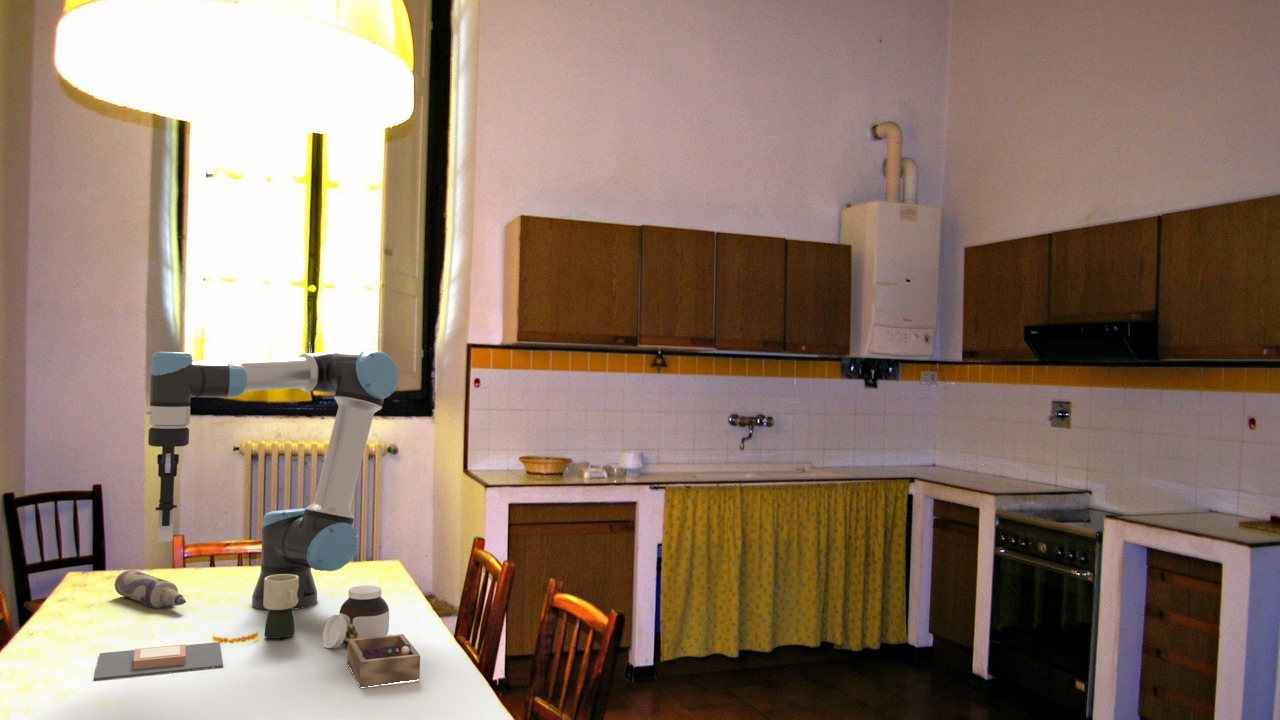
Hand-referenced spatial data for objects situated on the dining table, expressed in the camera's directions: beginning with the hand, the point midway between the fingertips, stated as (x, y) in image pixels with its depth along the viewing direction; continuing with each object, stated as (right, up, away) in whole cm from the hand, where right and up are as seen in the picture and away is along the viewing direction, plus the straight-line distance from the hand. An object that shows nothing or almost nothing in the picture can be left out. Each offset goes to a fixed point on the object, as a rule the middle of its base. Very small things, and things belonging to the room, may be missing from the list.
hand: (165, 540), depth 194 cm
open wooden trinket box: (+47, -24, -10) cm, 54 cm away
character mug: (+19, -23, +11) cm, 32 cm away
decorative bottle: (-21, -22, +33) cm, 45 cm away
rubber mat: (+3, -23, -7) cm, 24 cm away
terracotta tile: (+1, -21, -5) cm, 22 cm away
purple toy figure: (+49, -25, -13) cm, 56 cm away
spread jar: (+37, -24, +7) cm, 45 cm away
